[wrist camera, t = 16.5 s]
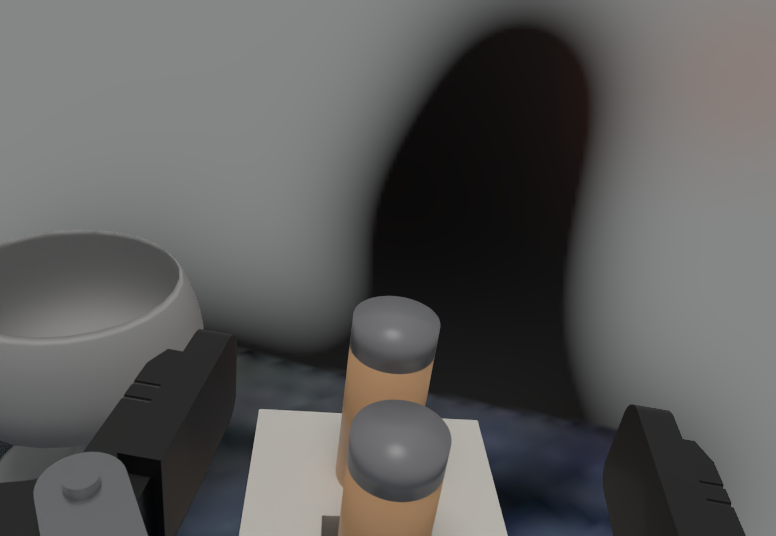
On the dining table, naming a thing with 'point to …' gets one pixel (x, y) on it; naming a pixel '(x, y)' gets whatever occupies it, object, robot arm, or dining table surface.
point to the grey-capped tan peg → (394, 470)
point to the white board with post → (332, 431)
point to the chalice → (80, 336)
